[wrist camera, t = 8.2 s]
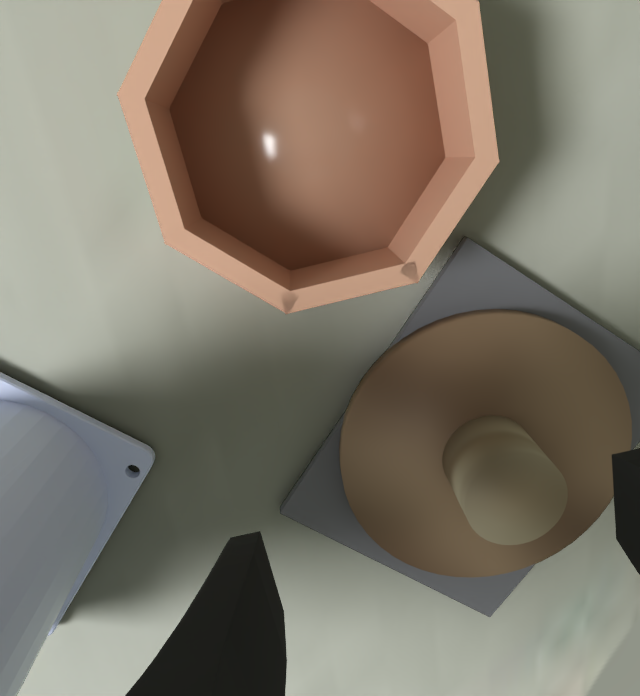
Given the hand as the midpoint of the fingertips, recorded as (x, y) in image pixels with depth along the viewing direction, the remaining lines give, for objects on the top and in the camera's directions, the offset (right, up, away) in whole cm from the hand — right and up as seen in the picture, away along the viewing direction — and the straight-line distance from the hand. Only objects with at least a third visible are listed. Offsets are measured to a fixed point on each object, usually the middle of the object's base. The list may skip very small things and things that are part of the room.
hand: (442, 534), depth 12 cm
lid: (+3, 0, +10) cm, 10 cm away
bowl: (-3, +10, +6) cm, 12 cm away
